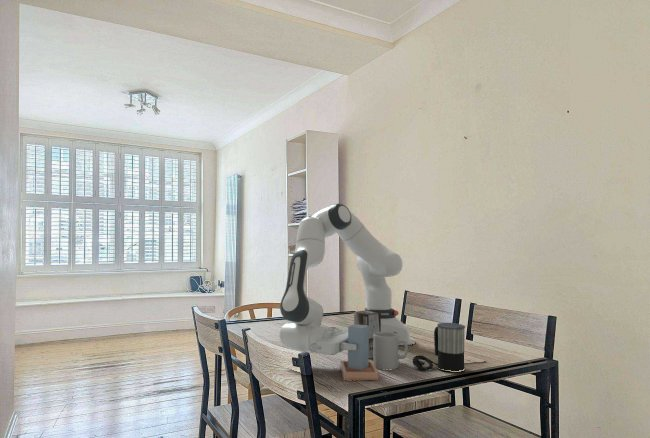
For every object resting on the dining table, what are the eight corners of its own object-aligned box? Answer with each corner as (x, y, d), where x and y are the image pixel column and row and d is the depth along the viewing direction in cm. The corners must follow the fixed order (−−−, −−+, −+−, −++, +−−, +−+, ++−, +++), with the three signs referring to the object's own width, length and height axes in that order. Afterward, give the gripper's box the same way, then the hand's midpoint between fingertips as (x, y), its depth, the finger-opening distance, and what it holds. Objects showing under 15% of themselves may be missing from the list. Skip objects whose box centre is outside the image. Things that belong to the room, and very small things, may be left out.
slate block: (354, 364, 146) (354, 324, 147) (368, 366, 144) (368, 325, 145) (347, 367, 142) (348, 326, 143) (362, 370, 140) (362, 328, 140)
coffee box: (381, 356, 166) (381, 313, 167) (368, 359, 162) (368, 314, 163) (365, 351, 173) (365, 310, 174) (352, 353, 170) (353, 311, 171)
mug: (376, 370, 147) (376, 337, 148) (370, 363, 156) (370, 332, 156) (411, 370, 149) (411, 336, 149) (404, 363, 157) (404, 331, 158)
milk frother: (471, 370, 148) (471, 325, 149) (438, 378, 140) (438, 330, 141) (439, 361, 160) (438, 319, 161) (406, 367, 152) (406, 323, 152)
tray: (372, 368, 150) (372, 360, 150) (378, 380, 136) (378, 372, 136) (340, 368, 149) (340, 360, 150) (343, 380, 136) (343, 372, 136)
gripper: (307, 336, 140) (347, 341, 134) (336, 326, 158) (372, 330, 152) (307, 356, 140) (347, 362, 134) (336, 344, 158) (372, 348, 152)
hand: (361, 345), depth 143 cm, fingers closed on slate block, 5 cm apart
